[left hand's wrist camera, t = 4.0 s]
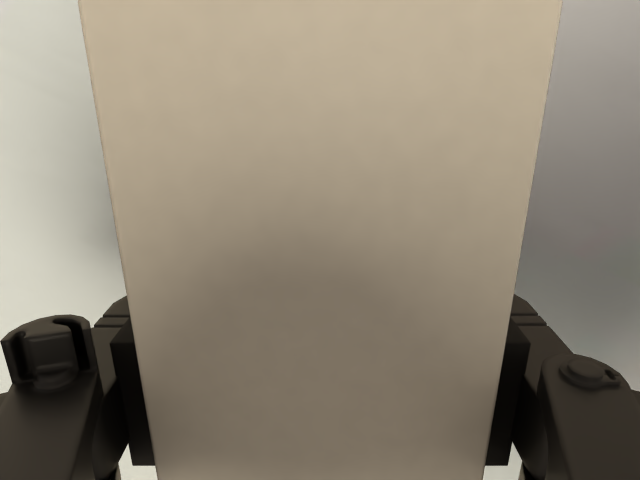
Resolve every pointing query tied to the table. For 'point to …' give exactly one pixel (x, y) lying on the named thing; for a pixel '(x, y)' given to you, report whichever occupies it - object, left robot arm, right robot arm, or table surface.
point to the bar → (320, 224)
